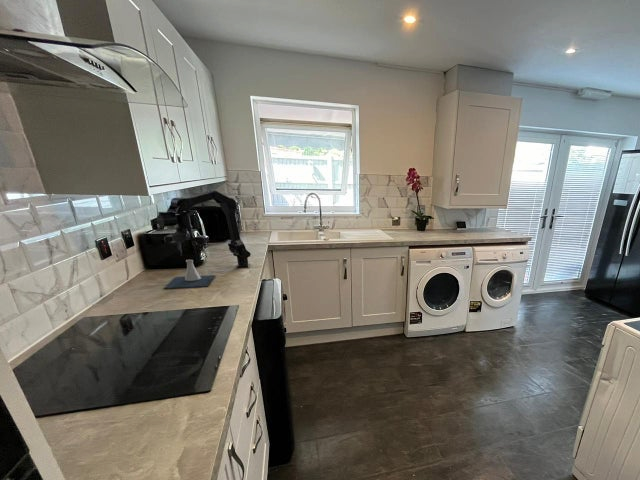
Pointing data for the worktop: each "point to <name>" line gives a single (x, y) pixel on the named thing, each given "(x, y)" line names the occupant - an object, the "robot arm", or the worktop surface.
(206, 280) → the mat
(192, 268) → the flask
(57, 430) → the worktop surface
